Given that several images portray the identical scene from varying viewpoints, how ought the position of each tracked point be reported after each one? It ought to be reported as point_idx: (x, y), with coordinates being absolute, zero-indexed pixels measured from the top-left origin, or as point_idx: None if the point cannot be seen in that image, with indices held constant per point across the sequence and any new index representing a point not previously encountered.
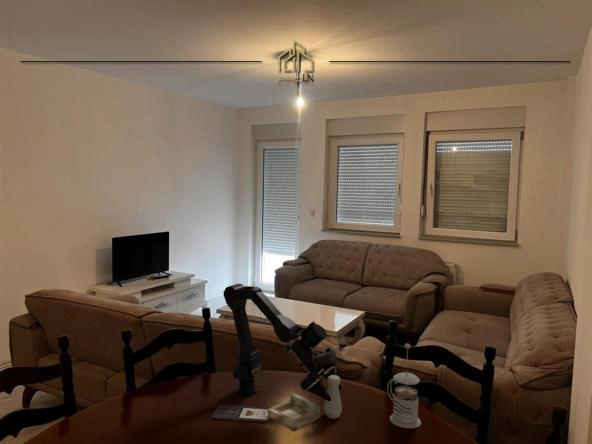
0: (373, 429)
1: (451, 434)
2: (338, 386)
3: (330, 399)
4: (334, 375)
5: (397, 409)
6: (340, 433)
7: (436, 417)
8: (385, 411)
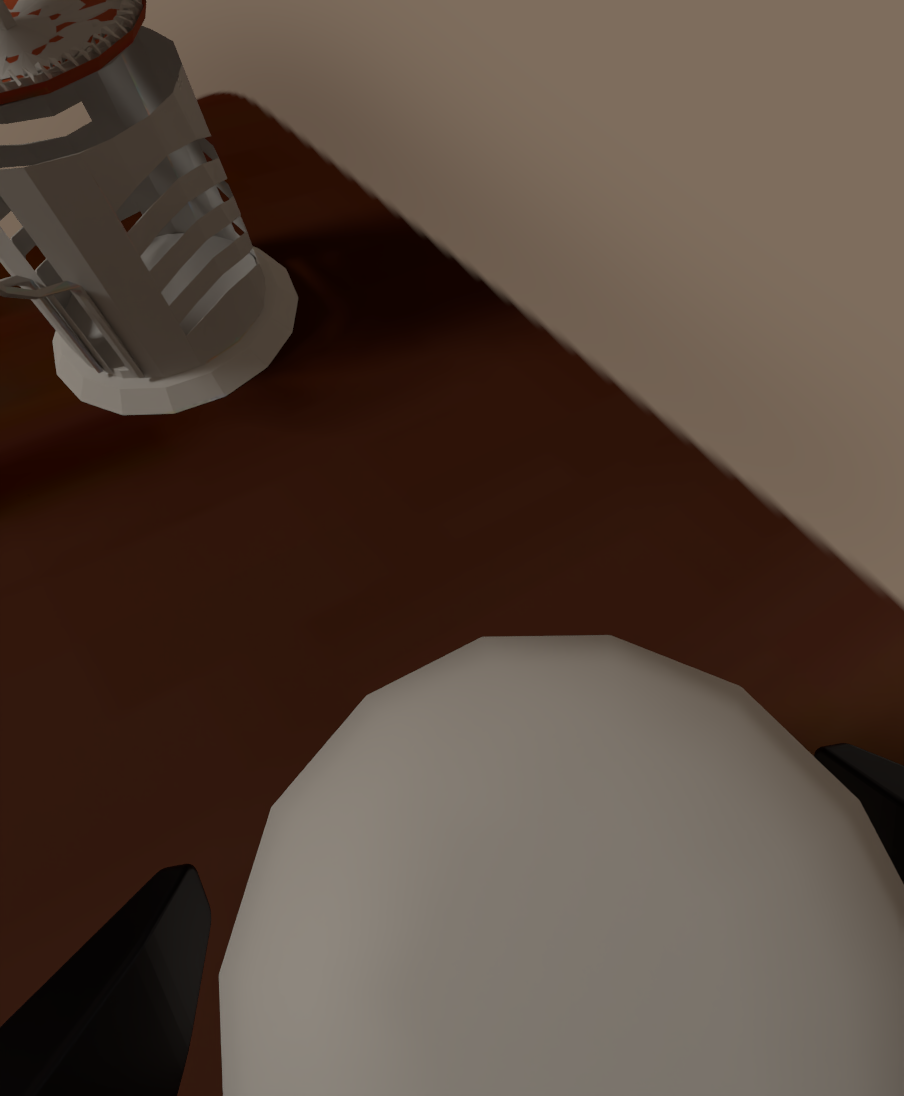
0: (467, 417)
1: (218, 118)
2: (170, 978)
3: (855, 754)
4: (377, 1088)
5: (214, 227)
6: (757, 589)
7: None
8: (91, 478)
